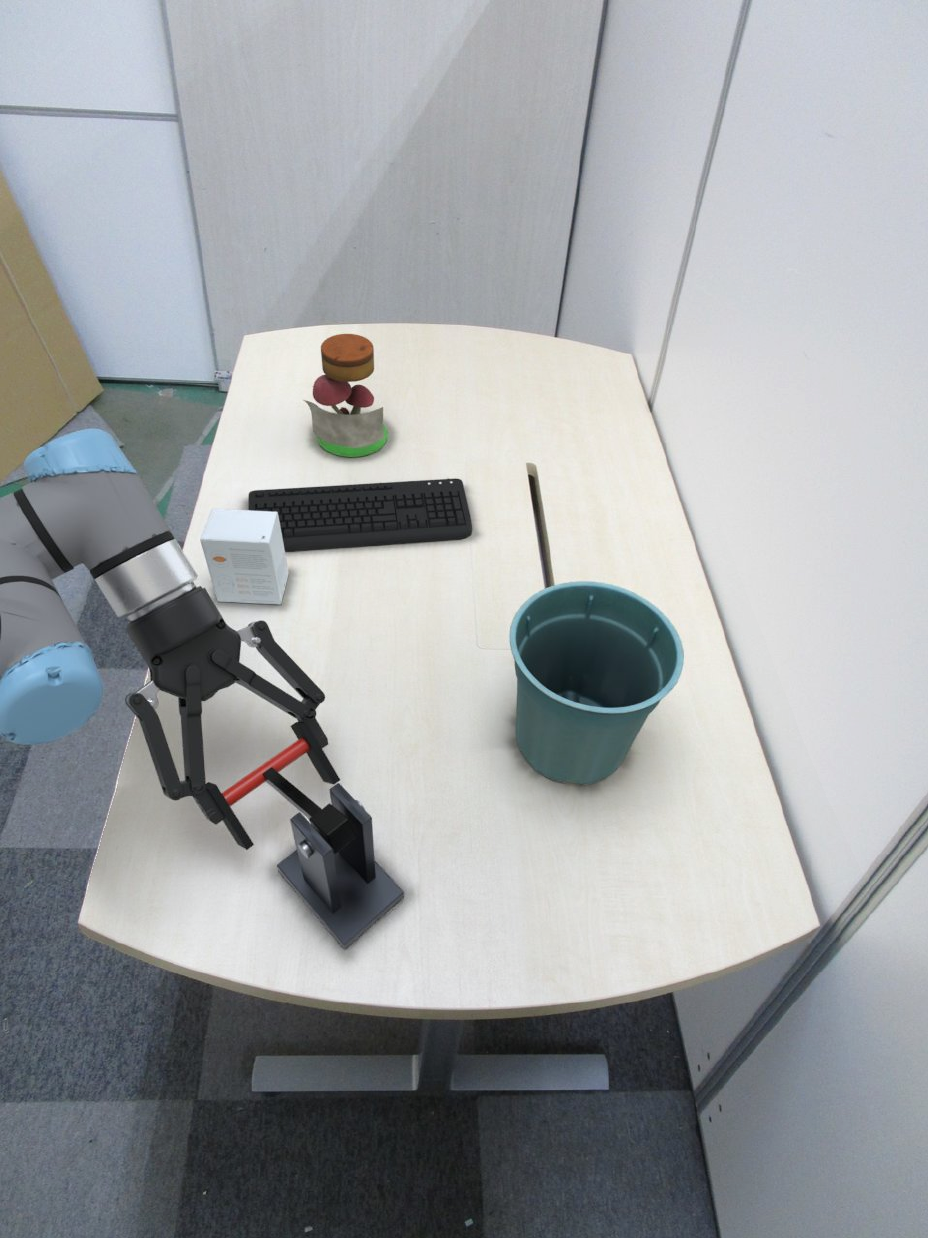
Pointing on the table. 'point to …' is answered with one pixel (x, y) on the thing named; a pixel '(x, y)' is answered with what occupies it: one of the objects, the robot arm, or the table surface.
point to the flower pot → (588, 676)
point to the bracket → (340, 873)
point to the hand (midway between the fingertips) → (290, 811)
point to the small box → (245, 556)
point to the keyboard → (367, 513)
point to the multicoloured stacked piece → (346, 398)
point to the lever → (296, 796)
